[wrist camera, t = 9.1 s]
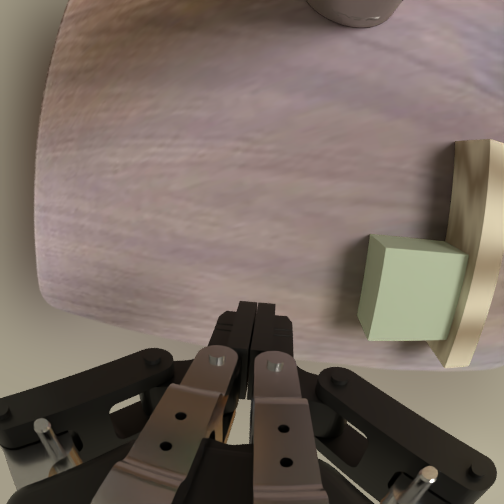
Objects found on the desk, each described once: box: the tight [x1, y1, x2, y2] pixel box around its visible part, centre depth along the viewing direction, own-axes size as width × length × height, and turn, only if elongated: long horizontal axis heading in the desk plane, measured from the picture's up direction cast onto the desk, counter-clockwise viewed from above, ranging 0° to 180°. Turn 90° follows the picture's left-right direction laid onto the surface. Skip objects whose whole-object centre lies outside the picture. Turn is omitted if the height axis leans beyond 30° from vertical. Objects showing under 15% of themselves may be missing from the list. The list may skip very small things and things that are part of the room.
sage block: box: [357, 234, 469, 341], centre depth 25 cm, size 8×8×5 cm
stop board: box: [426, 139, 504, 368], centre depth 23 cm, size 20×3×6 cm, turn 177°
